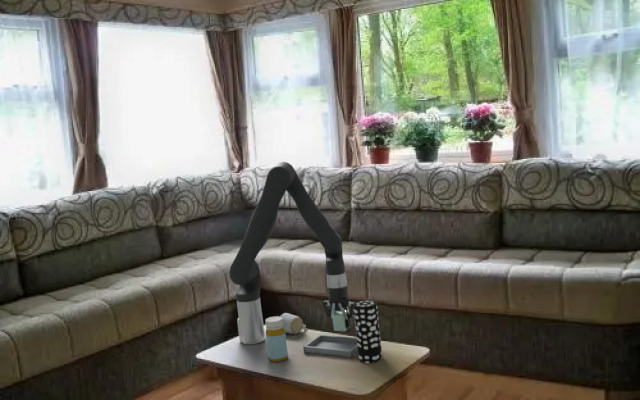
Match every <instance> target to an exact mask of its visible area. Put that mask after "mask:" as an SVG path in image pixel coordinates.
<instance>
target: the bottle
mask: <svg viewBox="0 0 640 400" xmlns="http://www.w3.org/2000/svg"><path fill="white" fill-rule="evenodd" d="M265 328H266V330H265V339H266V340H265V341H266V348H267V354H268V359H269V360H270V361H271V362H273V363H279V362H283V361H285V360H287V358H288V356H289V355H288V354H289V353H288V346H287V338H286V337H287V336H286V332H285V329H284V327H283V320H282V317H280V316H279V315H277V316H270V317H268V318H266V319H265Z"/></svg>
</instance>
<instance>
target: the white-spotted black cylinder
mask: <svg viewBox="0 0 640 400" xmlns="http://www.w3.org/2000/svg"><path fill="white" fill-rule="evenodd" d="M354 302H355V303H354V304H353V308H354V317H353V318H354V327H355V335H356V337H355V338H357V348H358V353H357V355H358V357H357V358H358V361H359V362H361V363H362V364H375V363H377V362H378V363H379V362H380V361H382V359H383V350H382V341H381V340H382V339H381V330H380V320H379V309H378V301H376V300H374V299H373V300H372V299H364V300H363V299H362V300H361V299H360V300H358V301H354Z"/></svg>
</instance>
